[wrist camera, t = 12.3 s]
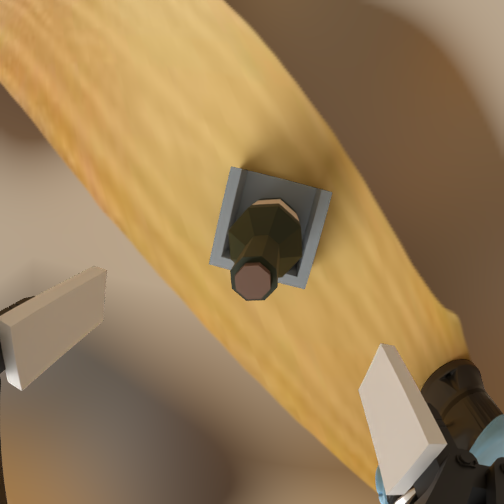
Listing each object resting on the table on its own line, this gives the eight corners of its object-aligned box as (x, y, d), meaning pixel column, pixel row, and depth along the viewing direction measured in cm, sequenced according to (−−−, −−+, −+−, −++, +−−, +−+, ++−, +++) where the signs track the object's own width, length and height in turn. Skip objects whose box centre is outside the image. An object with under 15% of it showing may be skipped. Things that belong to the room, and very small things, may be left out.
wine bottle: (255, 188, 49) (211, 202, 20) (305, 206, 49) (335, 245, 20) (238, 238, 51) (179, 314, 22) (287, 255, 51) (289, 353, 22)
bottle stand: (302, 273, 53) (304, 289, 45) (220, 251, 53) (208, 264, 46) (325, 190, 49) (332, 192, 42) (239, 168, 50) (231, 166, 42)
